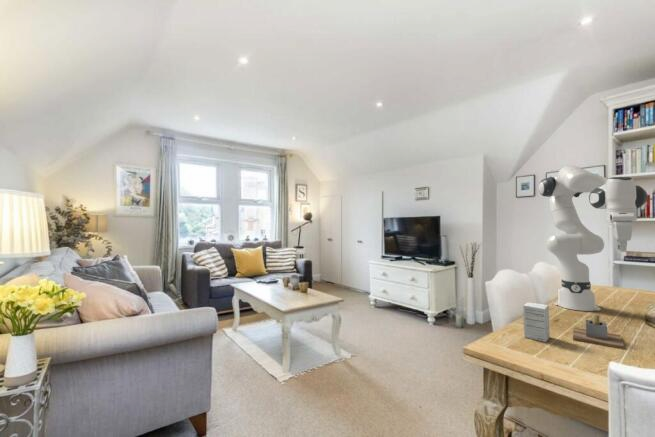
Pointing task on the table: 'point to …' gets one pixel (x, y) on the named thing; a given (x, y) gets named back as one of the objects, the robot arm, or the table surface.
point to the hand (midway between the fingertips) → (621, 250)
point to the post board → (612, 340)
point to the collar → (596, 330)
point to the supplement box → (536, 321)
